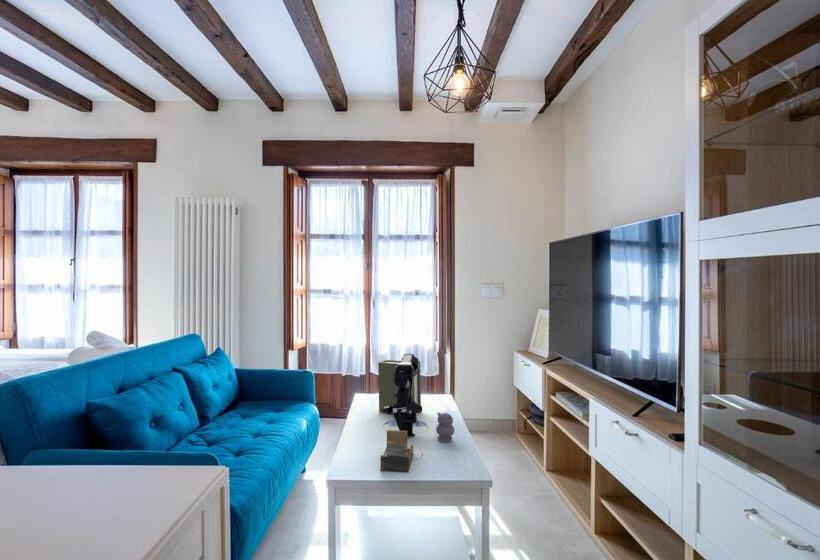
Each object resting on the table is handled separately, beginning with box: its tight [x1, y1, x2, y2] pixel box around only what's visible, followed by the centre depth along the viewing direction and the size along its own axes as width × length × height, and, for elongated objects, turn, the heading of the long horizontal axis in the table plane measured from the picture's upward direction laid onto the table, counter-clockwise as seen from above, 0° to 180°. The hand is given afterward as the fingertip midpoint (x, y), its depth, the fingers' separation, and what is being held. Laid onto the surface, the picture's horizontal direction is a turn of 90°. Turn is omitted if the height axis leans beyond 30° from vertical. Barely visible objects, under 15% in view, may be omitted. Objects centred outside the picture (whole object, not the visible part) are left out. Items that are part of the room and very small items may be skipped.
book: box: [377, 359, 422, 414], centre depth 224 cm, size 22×9×28 cm, turn 65°
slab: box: [385, 429, 408, 457], centre depth 158 cm, size 6×8×10 cm
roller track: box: [379, 444, 414, 474], centre depth 162 cm, size 17×11×6 cm, turn 174°
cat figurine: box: [435, 411, 455, 444], centre depth 184 cm, size 8×8×12 cm
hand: (400, 430), depth 171 cm, fingers closed
